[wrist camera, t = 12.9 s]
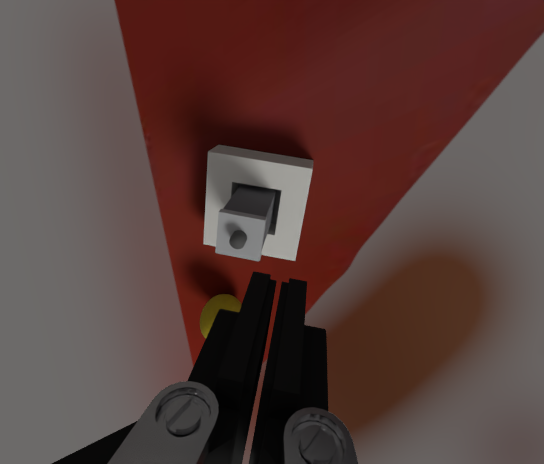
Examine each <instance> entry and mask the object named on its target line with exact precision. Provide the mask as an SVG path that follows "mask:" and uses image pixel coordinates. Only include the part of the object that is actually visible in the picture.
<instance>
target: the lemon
mask: <svg viewBox="0 0 544 464" xmlns="http://www.w3.org/2000/svg"><path fill="white" fill-rule="evenodd" d="M241 306H242V305H241V303H240V301H239V300H238V299H237V298H235V297H234V296H232V295H229V294H220V295H217V296H214V297H213V298H212V299H210V300H209V301H208V302H207V304H206V305H205V307H204V308H203V310H202V314H201V317H200V329H201V332H202V334H203V336H204V337H205V338H207V335H208V333H209V331H210V329H211V326H212V324H213V322H214V319H215V317H216V315H217V313H218V311H219V309H225V310H230V311H235V312H240V309H241Z"/></svg>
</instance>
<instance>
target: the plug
mask: <svg viewBox="0 0 544 464" xmlns="http://www.w3.org/2000/svg"><path fill="white" fill-rule="evenodd" d="M276 193H277V189H271V188H265V187H259V186H253V185H248V184H241V185H240V187H239V188H238V189H237V191H236V192H235V193H234V195H233V196H232V197H231V199H230V200H229V201H228V203H227V204H226V205H225V207H224V208H223V209H220V211H219V214H218V227H217V239H216V252H215V253H219V254H224V255H229V256H234V257H239V258H245V259H250V260H255V261H260V258H261V252H262V248H263V245H264V242H265V239H266V236H267V233H268V230H269V228H270V225H271V222H272V218H273V212H274V206H275V200H276Z"/></svg>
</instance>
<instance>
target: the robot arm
mask: <svg viewBox="0 0 544 464" xmlns="http://www.w3.org/2000/svg"><path fill="white" fill-rule="evenodd" d="M270 276H271V275H269V274H264V273H259V272H253V274H252V277H251V280H250V283H249V285H248V288H247V291H246V294H245V297H244V300H243V303H242V306H241V309H240V312H235V311H230V310H225V309H219V311H218V313H217V315H216V317H215V319H214V322H213V324H212V326H211V329H210V331H209V333H208V335H207V338H206V340H205V342H204V345H203V347H202V349H201V351H200V354H199V356H198V358H197V360H196V363H195V365H194V367H193V370H192V372H191V374H190V377H189V379H188V381H186V382H178V383H175V384H173V385H170V386H168V387H166V388H165V389H163V390H162V391H161V392H159V394H158V395H157V396H156V397H155V398H154V399H153V400H152V402H151V403H150V405H149V406H148V407H147V409H146V410H145V412H144V413H143V414H142V416H141V418H140V419H139V420H138V421H136V422H135V423H132V424H131V425H129V426H126V427H124V428H122V429H121V430H118V431H116V432H114V433H112V434H110V435H108V436H106V437H104V438H102V439H100V440H98V441H96V442H94V443H92V444H90V445H88V446H86V447H84V448H82V449H80V450H78V451H76V452H74V453H72V454H70V455H68V456H66V457H64V458H62V459H60V460H58V461H56V462H54V463H52V464H242V460H243V455H244V450H245V445H246V441H247V436H248V431H249V426H250V421H251V416H252V411H253V406H254V401H255V396H256V391H257V386H258V381H259V377H260V372H261V367H262V362H263V357H264V352H265V346H266V340H267V334H268V328H269V323H270V317H271V311H272V305H273V299H274V293H275V287H276V280H271V279H270ZM306 290H307V281H301V280H296V279H291V278H290V279H289V283H287V282H282V285H281V290H280V295H279V301H278V306H277V311H276V317H275V322H274V327H273V333H272V338H271V343H270V349H269V354H268V359H267V365H266V370H265V376H264V381H263V387H262V392H261V398H260V403H259V409H258V415H257V420H256V426H255V432H254V437H253V443H252V449H251V454H250V460H249V464H358V461H357V456H356V452H355V448H354V444H353V440H352V438H351V435H350V433H349V431H348V430H347V428H346V426H345V425H344V424H343V422H342V421H341V420H339V419H338V418H337V417H336V416H335V415H334V414H332V413H330V412H328V383H327V345H326V344H327V343H326V330H325V329H321V328H317V327H311V326H306V325H304V321H305V306H306Z"/></svg>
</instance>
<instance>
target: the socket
mask: <svg viewBox="0 0 544 464" xmlns="http://www.w3.org/2000/svg"><path fill="white" fill-rule="evenodd" d="M312 170H313V160H309V159H303V158H297V157H291V156H285V155H279V154H272V153H266V152H260V151H254V150H248V149H242V148H236V147H230V146H224V145H217V146H216V147H214V148H213V149H211V150H210V151H208V162H207V183H206V204H205V225H204V244H206V245H211V246H216V239H217V227H218V214H219V211H220V209H223V208H224V207H225V205H226V204H227V203H228V201H229V200H230V199H231V197H232V196H233V195H234V193H235V192H236V191H237V189H238V188H239V187H240V185H241V184H248V185H253V186H259V187H265V188H271V189H277V193H276V200H275V206H274V212H273V218H272V222H271V225H270V228H269V230H268V233H267V236H266V239H265V242H264V245H263V248H262V252H261V255H266V256H271V257H276V258H282V259H287V260H293V261H295V259H296V254H297V248H298V243H299V238H300V233H301V227H302V222H303V217H304V212H305V207H306V201H307V196H308V191H309V186H310V181H311V175H312Z"/></svg>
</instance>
